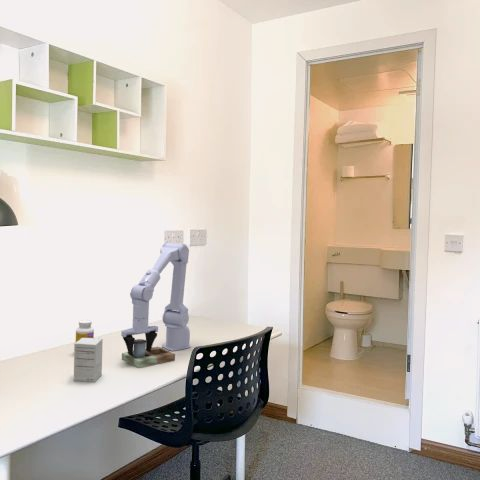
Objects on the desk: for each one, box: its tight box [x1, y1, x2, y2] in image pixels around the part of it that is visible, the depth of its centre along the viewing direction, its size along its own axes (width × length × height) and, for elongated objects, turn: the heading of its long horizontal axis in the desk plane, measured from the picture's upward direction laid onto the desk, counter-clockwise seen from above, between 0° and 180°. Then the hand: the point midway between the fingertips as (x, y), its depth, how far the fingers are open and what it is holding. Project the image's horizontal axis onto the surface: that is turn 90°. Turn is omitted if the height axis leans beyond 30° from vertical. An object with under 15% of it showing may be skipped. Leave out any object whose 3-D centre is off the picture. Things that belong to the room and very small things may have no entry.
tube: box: [133, 338, 146, 359], centre depth 178 cm, size 5×5×8 cm
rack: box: [121, 346, 176, 369], centre depth 181 cm, size 16×12×2 cm
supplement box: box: [73, 337, 103, 383], centre depth 159 cm, size 7×7×13 cm
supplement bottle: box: [75, 319, 95, 343], centre depth 184 cm, size 7×7×13 cm
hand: (139, 352), depth 178 cm, fingers open, 7 cm apart
